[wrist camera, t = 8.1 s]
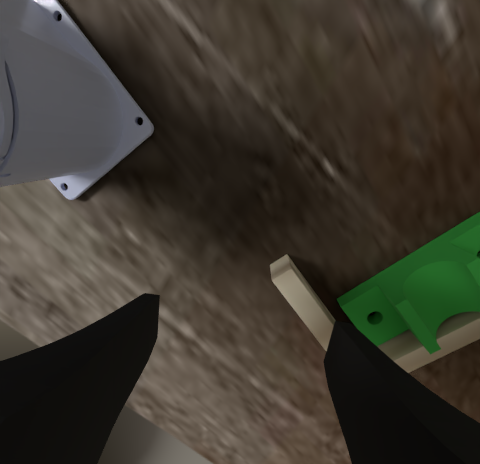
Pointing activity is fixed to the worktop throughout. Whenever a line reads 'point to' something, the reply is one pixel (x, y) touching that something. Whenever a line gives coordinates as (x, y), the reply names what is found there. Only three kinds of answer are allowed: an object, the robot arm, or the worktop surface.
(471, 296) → the pipe clamp
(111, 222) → the worktop surface
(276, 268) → the frame
